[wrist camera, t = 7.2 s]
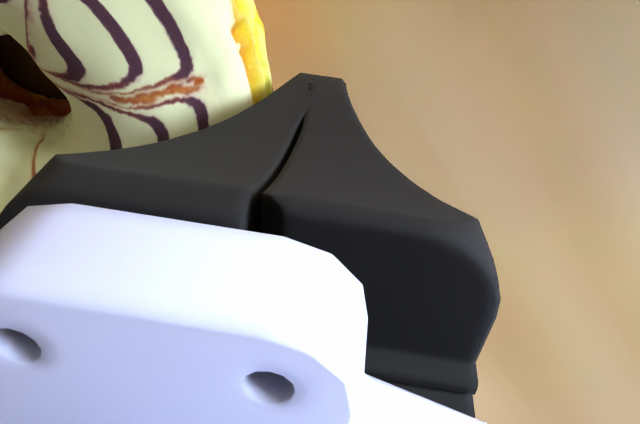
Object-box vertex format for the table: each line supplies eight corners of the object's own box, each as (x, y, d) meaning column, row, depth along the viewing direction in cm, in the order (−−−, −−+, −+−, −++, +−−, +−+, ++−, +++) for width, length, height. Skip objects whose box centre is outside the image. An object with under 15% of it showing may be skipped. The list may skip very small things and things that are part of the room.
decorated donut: (-283, -179, 11) (-536, -170, 8) (206, -320, 9) (108, -378, 6) (-12, 221, 17) (-100, 310, 14) (319, 196, 15) (298, 296, 12)
